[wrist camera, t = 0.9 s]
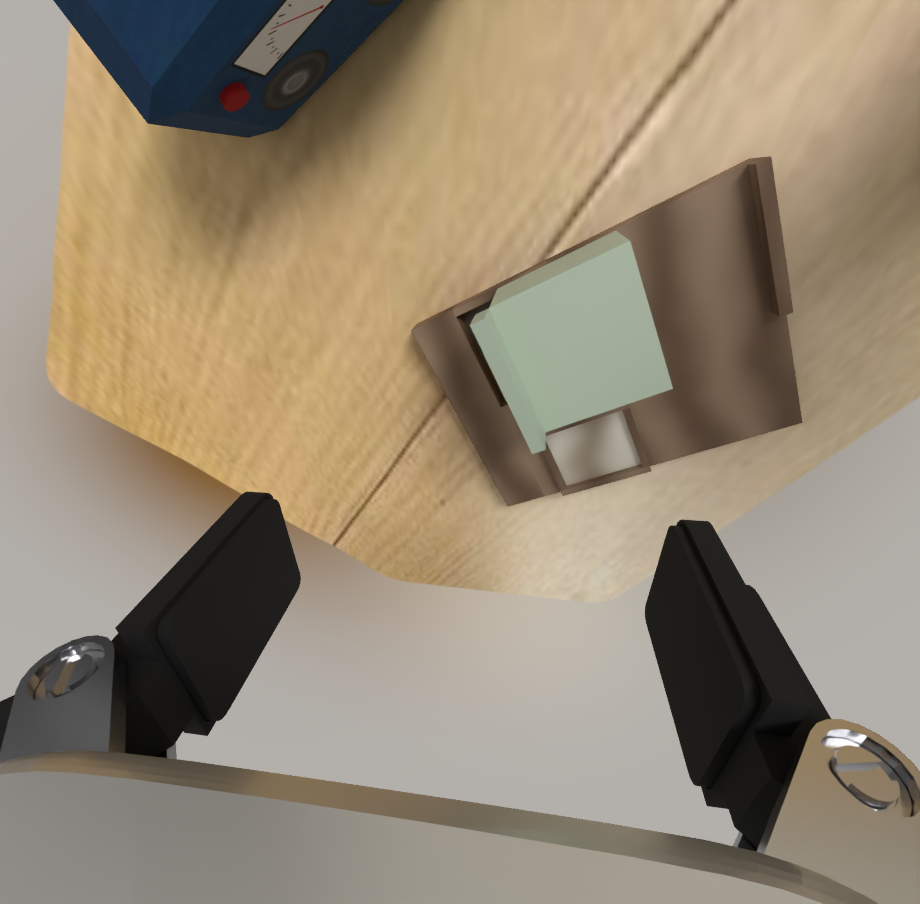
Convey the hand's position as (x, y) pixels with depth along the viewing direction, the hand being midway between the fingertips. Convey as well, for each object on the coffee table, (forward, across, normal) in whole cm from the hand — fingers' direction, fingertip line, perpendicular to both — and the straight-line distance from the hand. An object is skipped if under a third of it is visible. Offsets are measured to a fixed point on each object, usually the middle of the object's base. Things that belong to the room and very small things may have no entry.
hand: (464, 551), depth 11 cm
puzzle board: (+29, -8, +6) cm, 31 cm away
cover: (+27, -5, +1) cm, 27 cm away
